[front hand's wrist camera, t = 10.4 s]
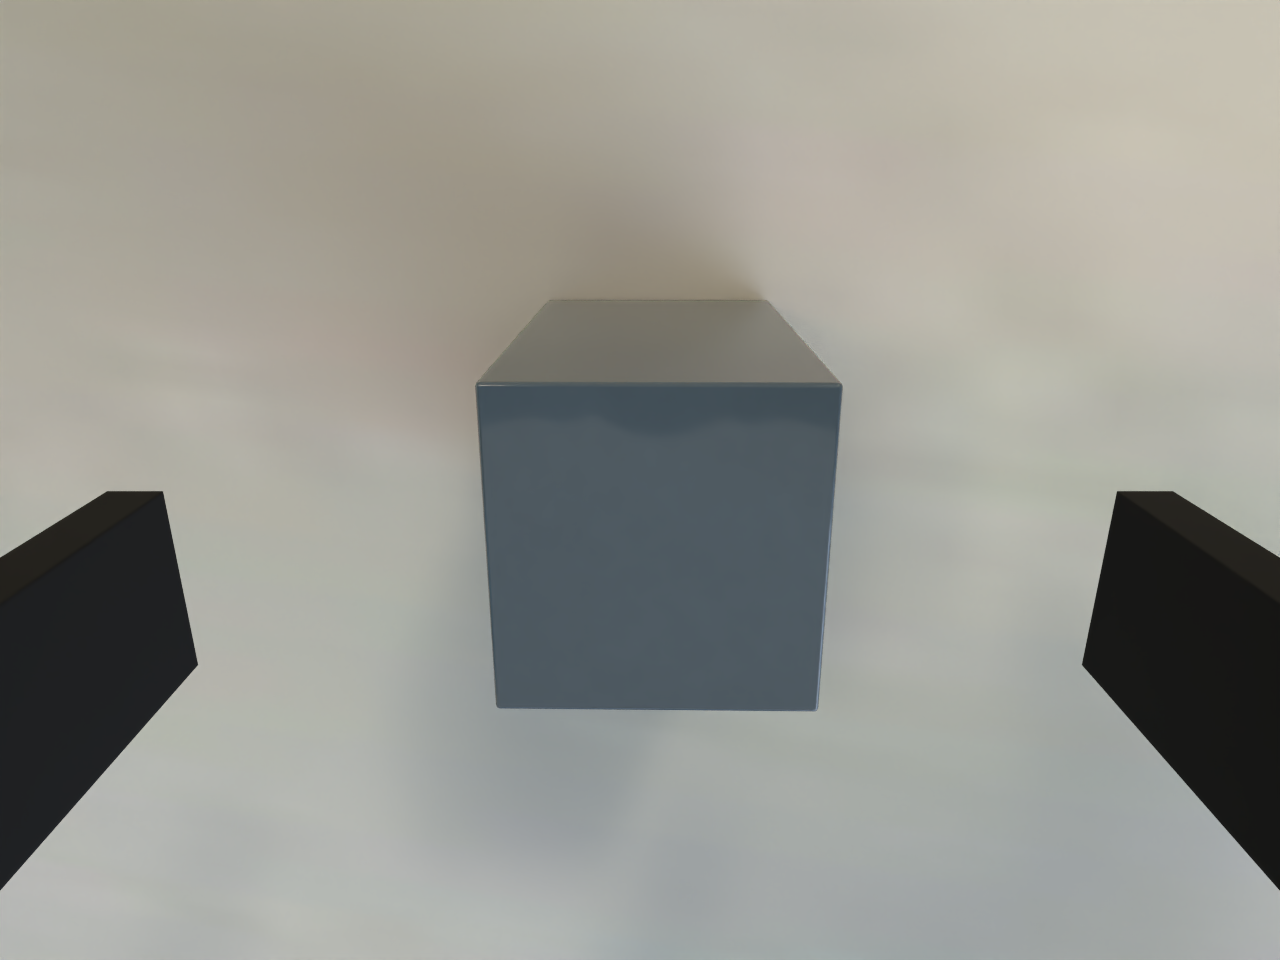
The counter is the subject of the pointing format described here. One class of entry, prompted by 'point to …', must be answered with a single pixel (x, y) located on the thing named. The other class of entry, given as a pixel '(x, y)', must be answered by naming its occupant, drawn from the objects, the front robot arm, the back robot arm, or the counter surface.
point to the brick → (658, 507)
